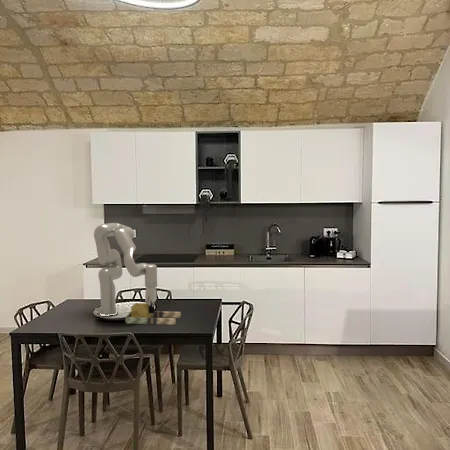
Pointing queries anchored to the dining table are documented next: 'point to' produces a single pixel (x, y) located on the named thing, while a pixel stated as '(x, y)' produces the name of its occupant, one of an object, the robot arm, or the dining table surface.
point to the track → (168, 320)
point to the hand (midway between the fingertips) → (151, 312)
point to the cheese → (140, 310)
